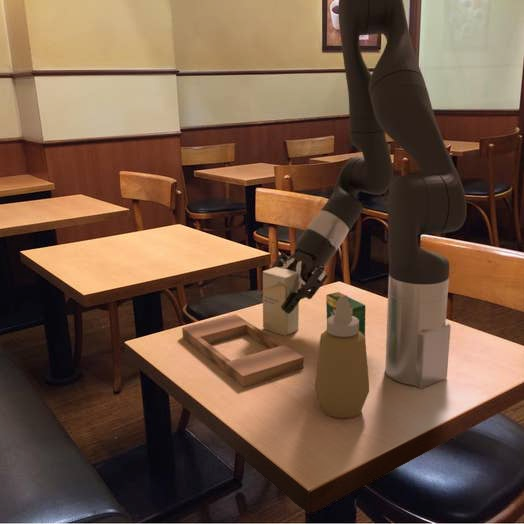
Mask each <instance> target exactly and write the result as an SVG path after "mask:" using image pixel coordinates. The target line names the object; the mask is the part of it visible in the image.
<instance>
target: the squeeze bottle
mask: <svg viewBox="0 0 524 524" xmlns="http://www.w3.org/2000/svg"><path fill="white" fill-rule="evenodd" d="M348 297H349V296H348V295H347V294H344V295H340V296H339V299H338V303H337V307H336V311H335V315H333V316H330V317H329V318H328V319H327V318H326V330H325V331H323V332H322V333H321V334H320V337H319V338H320V339H319V345H318V347H319V348H318V354H317V355H318V356H317V364H316V372H315V373H316V375H315V383H314V390H315V393H316V396H317V398H318V400H319V404H320V406H321V408H322V410H323V412H324V413H325V414H327V415H328V416H330V417H333V418H336V419H337V418H339V419H347V418H349V419H350V418H353V417H356V416H357V415H359V414H360V413H361V412H362V409H363V407H364V405H365V402H366V400H367V397H368V395H369V392H370V382H369V381H370V379H369V369H368V366H369V365H368V357H367V356H368V355H367V345H366V335H365V336H364V335H363V334H362V333H361V332H360V331H359V320H358V319H357V318H356V317H354V316H351V311H350V306H349V301H348Z"/></svg>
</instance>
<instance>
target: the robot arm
mask: <svg viewBox="0 0 524 524" xmlns="http://www.w3.org/2000/svg"><path fill="white" fill-rule="evenodd" d="M337 10H338V21H339V22H338V26H339V33H340V43H341V51H342V58H343V64H344V73H345V79H346V86H347V93H348V94H347V95H348V108H349V109H348V118H349V120H348V123H349V130H348V131H349V141H350V143H351V145H353V146H354V147H355V148H357V149H359V150H360V151H361V153H362V156H361V155H357V156H353V157H352V158H350V159H349V160H348V161H347V162H346V163H345V164H344V165H343V166H342V167H341V170H340V172H339V175H338V178H337V180H336V182H335V185H334V188H333V190H332V191H333V192H332V194H331V196H330V197H329V199H328V200H327V202H326V203H325V204H324V206H322V208H321V210H320V211H319V212H318V213H317V215H315V217H314V218H313V219H312V220H311V221H310V223H309V224H308V226H307V227H306V228H305V229H304V231H303V233H302V234H301V235H300V237H299V238H298V240H297V241H296V242H295V244H294V253H292V254H291V255H289V256H288V255H286V253H284V252H282V253H280V254H279V256H278V257H277V258H276V260H275V261H274V263H273V265H272V266H271V268H274V267H279V268H283V269H288V270H291V271H295V272H297V273H298V276H297V277H296V279H295V286H294V290H293V292H294V293H292V292H291V293H290V295H289V296H288V298H287V299H286V301H285V302H284V303H283V305H282V306H281V309H282V310H284V311H285V312H286V313H288V314H289V313H291V312H292V311H293V310H294V308H295V307H296V305H297V304H298V303H299V302H300V301H301V300H304V299H308V300H311V299H312V298H313V297H314V296H315V294H317V292H318V291H319V289H320V288H321V287H322V285H323V284H324V283H325V282H326V280H327V279H328V277H329V275H328V274H327V272H325V270H323V269H322V268H325V267H326V266H327V265H328V263H329V262H330V260H331V259H332V258H333V256H334V255H335V254H336V252H337V251H338V249H339V247H341V245H342V243H344V241H345V239H346V237H347V235H348V233H349V232H350V230H351V229H352V227H353V226H354V224H356V222H357V220H359V219H358V218H359V217H360V215H361V213H362V211H363V204H362V203H361V202H360V200H359V199H358V198H357V195H358V193H360V192H362V193H366V194H370V195H376V196H378V195H382V194H384V193H386V192H387V191H388V195H387V235H388V236H387V255H388V264H389V265H388V287H387V291H388V292H387V293H388V294H387V310H386V311H387V315H386V319H387V320H386V341H385V342H386V344H385V366H384V368H385V369H384V370H385V374H386V375H387V376H388V377H389V378H390V379H392V380H394V381H396V382H398V383H402V384H405V385H411V386H415V387H418V388H419V389H423V388H426V387H428V386H429V385H432V384H435V383H437V382H440V381H443V380H446V379H447V378H448V370H449V368H448V367H449V357H450V356H449V352H450V342H451V341H450V339H451V324H449V323H448V322H447V309H448V308H447V306H448V293H449V279H450V262H449V259H448V258H447V257H445V256H444V255H442V254H440V253H437V252H435V251H432V250H427V249H424V248H422V247H420V246H419V240H418V239H419V237H418V235H419V236H420V235H434V234H436V235H437V234H446V233H447V234H448V233H451V232H456V231H458V230H459V229H461V228H462V227H463V225H464V223H465V222H466V218H467V210H468V209H467V200H466V199H467V198H466V194H465V193H466V192H465V189H464V185H463V184H462V181H461V178H460V175H459V173H458V170H457V169H456V166H455V164H454V161H453V160H452V158H451V155H450V153H449V150H448V149H447V146H446V144H445V141H444V140H443V137H442V134H441V131H440V129H439V125H438V122H437V119H436V115H435V113H434V109H433V106H432V102H431V99H430V94H429V91H428V88H427V85H426V81H425V79H424V76H423V73H422V71H421V69H420V68H421V67H420V65H419V62H418V58H417V56H416V53H415V49H414V47H413V42H412V38H411V34H410V29H409V25H408V20H407V15H406V10H405V5H404V0H338V9H337ZM369 35H370V36H371V35H383V36H384V37H385V40H386V44H385V46H384V49H383V52H382V54H381V56H380V57H379V58H378V60H377V63H376V64H375V66H374V69H373V71H372V73H371V71H370V70H369V69H368V65H367V64H366V63H365V60H364V58H363V55H362V54H363V53H362V51H361V46H360V36H369ZM386 135H387V136H388V137H389V138H390V139H392V140H393V141H394V142H395V143H396V144H397V145H398V146H399V147H400V148H402V150H404V151H405V152H406V153H407V154H408V155H409V156H410V157H411V158H412V159H413V160H414V163H415V164H416V166H417V167H418V168H419V171H420V173H418V174H404V175H398V176H395V178H394V165H393V161H392V156H391V153H390V148H389V146H388V145H389V144H388V142H387V138H386V137H387V136H386ZM271 268H270V269H271ZM310 288H311V289H310ZM260 299H262V300H263V291H262V293H261V295H260Z"/></svg>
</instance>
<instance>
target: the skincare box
mask: <svg viewBox="0 0 524 524" xmlns="http://www.w3.org/2000/svg"><path fill="white" fill-rule="evenodd" d="M297 276H298V273H297V272H295V271H291V270H288V269H283V268H279V267H274V268H269V269H266V270H265V269H264V270H263V271H262V292H263V299H262V328H263V329H265V330H268V331H270V332H273V333H276V334H279V335H281V336H283V337H284V336H285V337H286V336H288V335H290V334H292V333H294V332H296V331H298V330H299V310H300V309H299V307H300V305H299V303H298V304H297V305H296V307H295V308H294V310H293V311H292V312H291V313H289V314H288V313H286V312H285V311H284V310H282V309H281V306H282V305H283V303H284V302H285V301H286V299H287V298H288V296H289V295H290V293H291V292H292V293H294V292H293V290H294V286H295V279H296V277H297Z"/></svg>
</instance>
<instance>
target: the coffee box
mask: <svg viewBox="0 0 524 524" xmlns="http://www.w3.org/2000/svg"><path fill="white" fill-rule="evenodd" d="M340 295H345V294H344V293H341V292H339V291H338V292H333V293H328V294H326V296H325V298H326V300H325V301H326V303H325V305H326V320H327V319H328V318H329V317H330V316H333V315H335V311H336V307H337V303H338V299H339V296H340ZM347 297H348V301H349V306H350V311H351V316H354V317H356V318H357V319H358V320H359V331H360V332H361V333H362V334H363V335H364V336H365V337H366V304H363V303H362V302H360V301H358V300H355V299H354V298H351V297H349V296H347Z"/></svg>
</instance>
